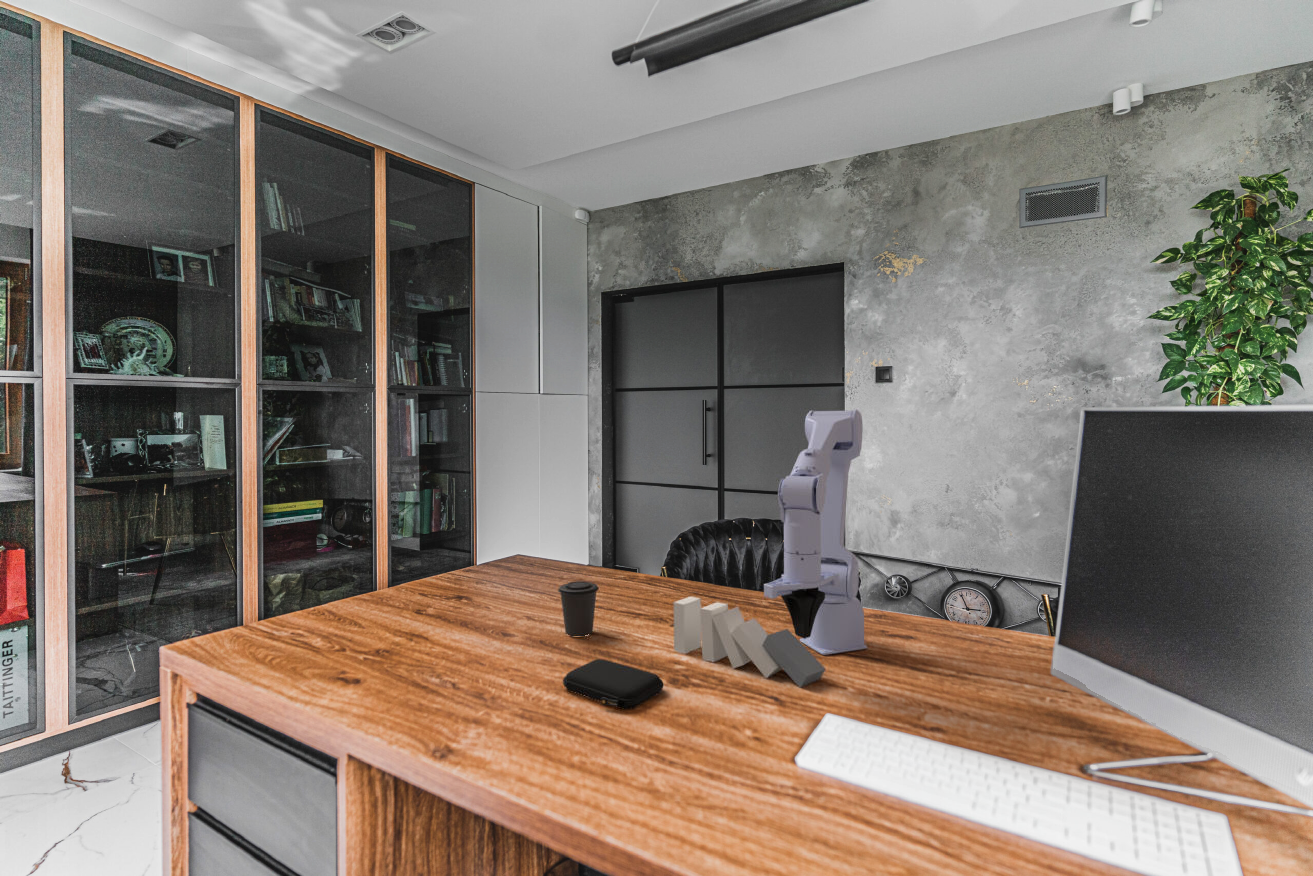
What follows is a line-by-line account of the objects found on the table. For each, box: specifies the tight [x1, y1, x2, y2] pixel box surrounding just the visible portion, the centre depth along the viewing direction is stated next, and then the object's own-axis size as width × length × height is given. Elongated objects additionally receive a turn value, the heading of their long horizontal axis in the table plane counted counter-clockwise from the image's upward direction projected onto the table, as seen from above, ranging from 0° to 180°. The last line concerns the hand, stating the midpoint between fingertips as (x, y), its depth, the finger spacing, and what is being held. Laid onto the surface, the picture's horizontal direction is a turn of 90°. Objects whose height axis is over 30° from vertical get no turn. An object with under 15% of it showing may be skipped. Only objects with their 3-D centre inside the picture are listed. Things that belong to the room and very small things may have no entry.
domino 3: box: [712, 606, 753, 669], centre depth 109 cm, size 2×5×9 cm, turn 139°
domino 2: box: [700, 601, 729, 663], centre depth 111 cm, size 2×5×9 cm, turn 139°
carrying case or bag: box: [562, 658, 664, 710], centre depth 98 cm, size 11×3×15 cm
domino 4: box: [731, 617, 784, 679], centre depth 105 cm, size 2×5×9 cm
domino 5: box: [762, 628, 826, 688], centre depth 102 cm, size 2×5×9 cm
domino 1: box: [673, 595, 702, 655], centre depth 116 cm, size 2×5×9 cm, turn 139°
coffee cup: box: [557, 580, 599, 636], centre depth 125 cm, size 8×8×10 cm
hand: (802, 636), depth 100 cm, fingers closed
